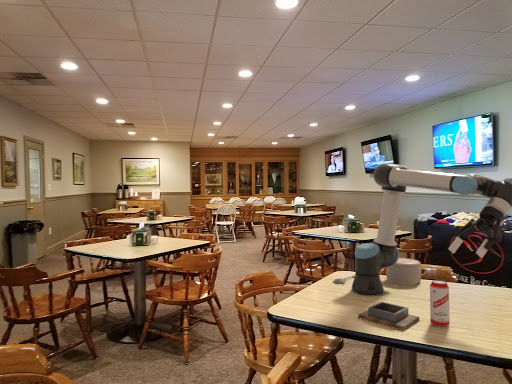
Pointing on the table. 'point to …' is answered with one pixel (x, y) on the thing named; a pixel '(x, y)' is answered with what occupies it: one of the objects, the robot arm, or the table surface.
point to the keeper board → (400, 324)
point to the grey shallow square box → (396, 316)
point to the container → (404, 272)
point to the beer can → (439, 303)
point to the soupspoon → (341, 280)
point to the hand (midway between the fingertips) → (464, 253)
